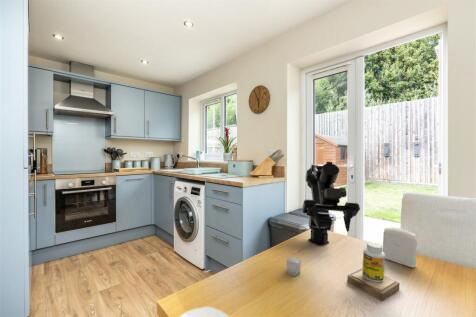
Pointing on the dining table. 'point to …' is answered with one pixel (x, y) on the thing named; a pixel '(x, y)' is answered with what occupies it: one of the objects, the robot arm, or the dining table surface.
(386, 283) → the tan flat square block
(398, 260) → the photo printer
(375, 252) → the supplement bottle
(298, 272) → the white rounded knob
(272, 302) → the dining table surface
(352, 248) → the dining table surface
